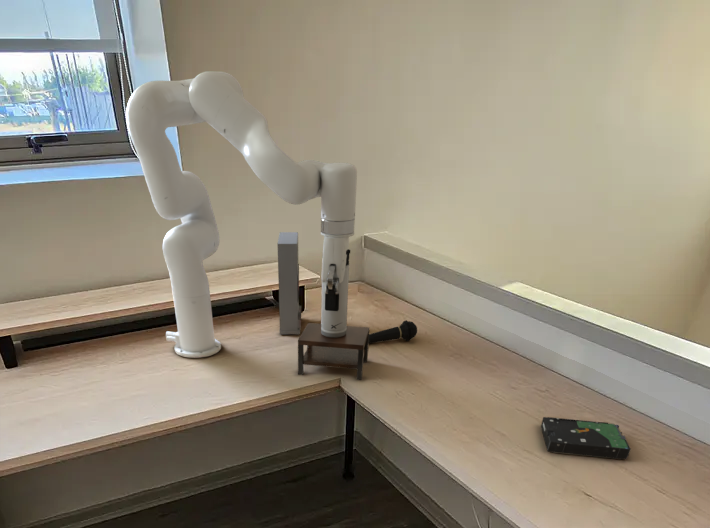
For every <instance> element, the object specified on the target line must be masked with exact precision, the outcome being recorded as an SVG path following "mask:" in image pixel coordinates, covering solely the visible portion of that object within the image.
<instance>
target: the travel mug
mask: <svg viewBox="0 0 710 528" xmlns="http://www.w3.org/2000/svg"><path fill="white" fill-rule="evenodd" d="M321 253H322V255H323V252H321ZM350 254H351V249H349V250H347V251H346V255H347V258H346V266H345V273H344V279H343V281H342V282H341V283H339V289H338V293H339V310H338V311H326V310H325V293H326V284H327V280H326V281H325V282H322V281H321V307H320V309H321V311H320V314H321V315H320V316H321V317H320V324H321V333H322V335H324V336H326V337H330V338H338V337H342V336H344V335H345V334H346V329H347V328H346V327H347V326H348V325H347V323H348V302H349V281H350V280H349V279H350ZM335 272H336V271H335ZM334 280H337V279H336V278H334ZM335 286H336V284H335ZM335 288H336V287H335Z"/></svg>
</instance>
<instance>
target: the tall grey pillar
mask: <svg viewBox="0 0 710 528" xmlns="http://www.w3.org/2000/svg"><path fill="white" fill-rule="evenodd" d="M277 273H278V279H277V280H278V311H279V313H278V315H279V335H297V336H298V335H301V328H302V305H300V304H299V303H300V299H299V298H300V296H299V295H300V263H299V232H297V231H295V232H294V231H293V232H292V231H288V232H287V231H286V232H284V231H282V232H281V231H280V232H279V234H278V239H277Z"/></svg>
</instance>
